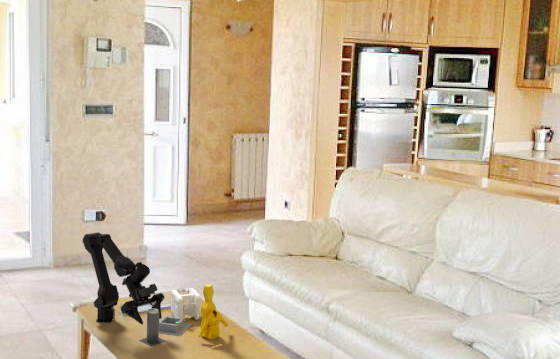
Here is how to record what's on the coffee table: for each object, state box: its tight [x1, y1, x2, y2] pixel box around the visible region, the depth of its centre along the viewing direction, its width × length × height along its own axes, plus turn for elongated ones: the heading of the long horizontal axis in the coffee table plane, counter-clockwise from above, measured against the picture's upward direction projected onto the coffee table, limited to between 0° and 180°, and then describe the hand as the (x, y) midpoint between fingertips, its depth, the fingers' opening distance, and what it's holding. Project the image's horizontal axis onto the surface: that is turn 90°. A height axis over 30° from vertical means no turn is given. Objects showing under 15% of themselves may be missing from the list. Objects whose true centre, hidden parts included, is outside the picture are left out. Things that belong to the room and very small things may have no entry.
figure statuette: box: [198, 284, 229, 340], centre depth 283 cm, size 18×8×22 cm, turn 142°
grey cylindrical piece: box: [146, 308, 160, 343], centre depth 275 cm, size 5×5×13 cm
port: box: [159, 315, 193, 337], centre depth 290 cm, size 14×14×4 cm
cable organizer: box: [170, 287, 201, 321], centre depth 304 cm, size 15×11×12 cm
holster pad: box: [138, 337, 167, 347], centre depth 276 cm, size 8×8×1 cm
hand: (151, 321), depth 275 cm, fingers open, 9 cm apart
